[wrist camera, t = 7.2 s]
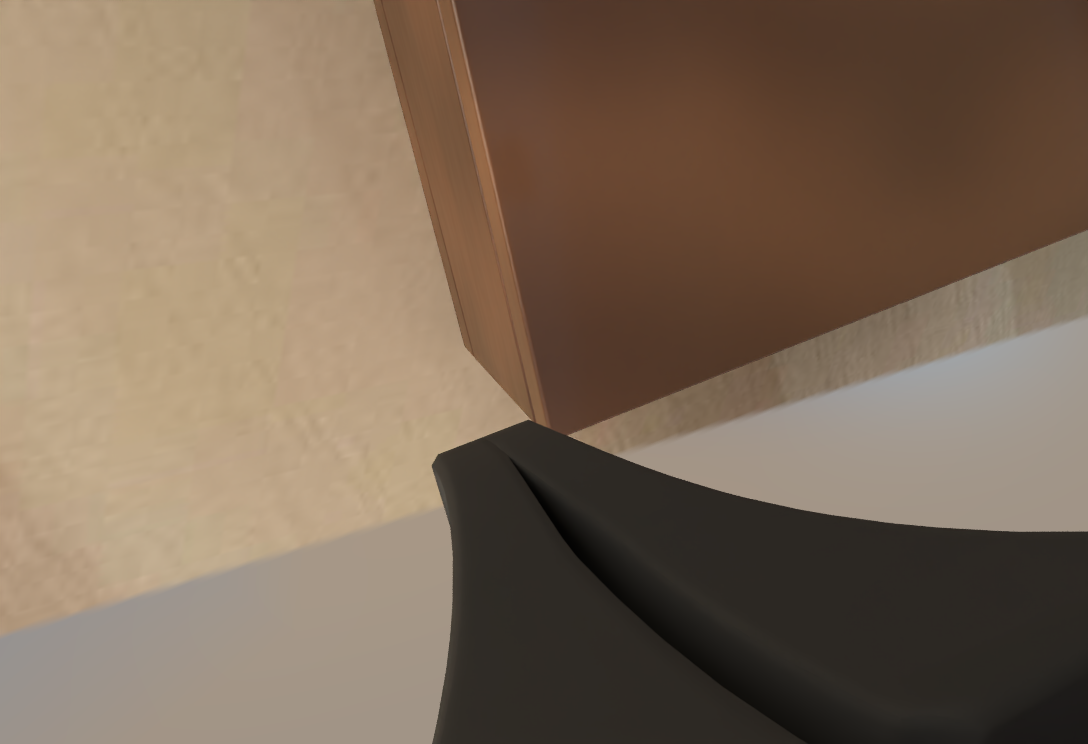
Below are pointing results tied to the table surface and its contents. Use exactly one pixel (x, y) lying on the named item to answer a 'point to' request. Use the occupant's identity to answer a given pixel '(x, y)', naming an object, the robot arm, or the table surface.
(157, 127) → the table surface
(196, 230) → the table surface
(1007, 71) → the lid
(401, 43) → the jewel box
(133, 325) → the table surface
